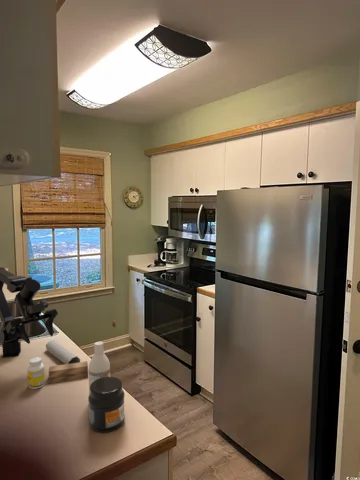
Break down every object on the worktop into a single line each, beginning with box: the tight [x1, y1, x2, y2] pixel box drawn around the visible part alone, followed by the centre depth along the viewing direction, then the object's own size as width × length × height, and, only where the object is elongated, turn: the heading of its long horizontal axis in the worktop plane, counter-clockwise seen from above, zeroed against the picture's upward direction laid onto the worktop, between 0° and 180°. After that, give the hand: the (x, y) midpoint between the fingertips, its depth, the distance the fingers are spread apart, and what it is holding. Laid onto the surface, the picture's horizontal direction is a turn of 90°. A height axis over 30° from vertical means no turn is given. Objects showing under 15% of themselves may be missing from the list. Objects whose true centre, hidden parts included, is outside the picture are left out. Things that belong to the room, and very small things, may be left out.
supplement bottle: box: [27, 356, 46, 390], centre depth 120 cm, size 5×5×10 cm
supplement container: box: [87, 376, 126, 433], centre depth 99 cm, size 10×10×12 cm
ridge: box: [48, 361, 89, 384], centre depth 126 cm, size 14×6×4 cm, turn 108°
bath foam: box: [88, 341, 111, 396], centre depth 110 cm, size 7×7×20 cm
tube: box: [45, 340, 81, 365], centre depth 141 cm, size 5×5×25 cm
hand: (41, 339), depth 127 cm, fingers open, 9 cm apart
